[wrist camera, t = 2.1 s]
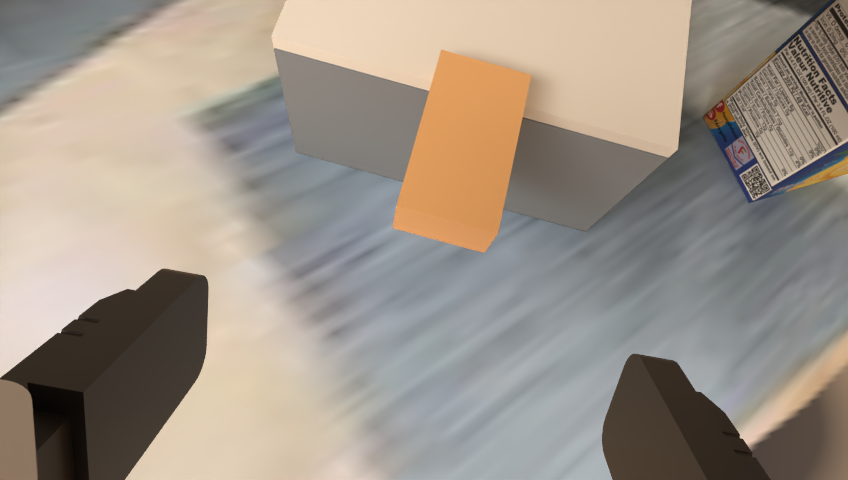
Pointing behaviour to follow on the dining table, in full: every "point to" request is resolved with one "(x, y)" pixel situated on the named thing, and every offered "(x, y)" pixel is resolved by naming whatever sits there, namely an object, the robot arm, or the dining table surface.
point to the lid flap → (502, 86)
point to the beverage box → (790, 111)
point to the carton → (397, 129)
